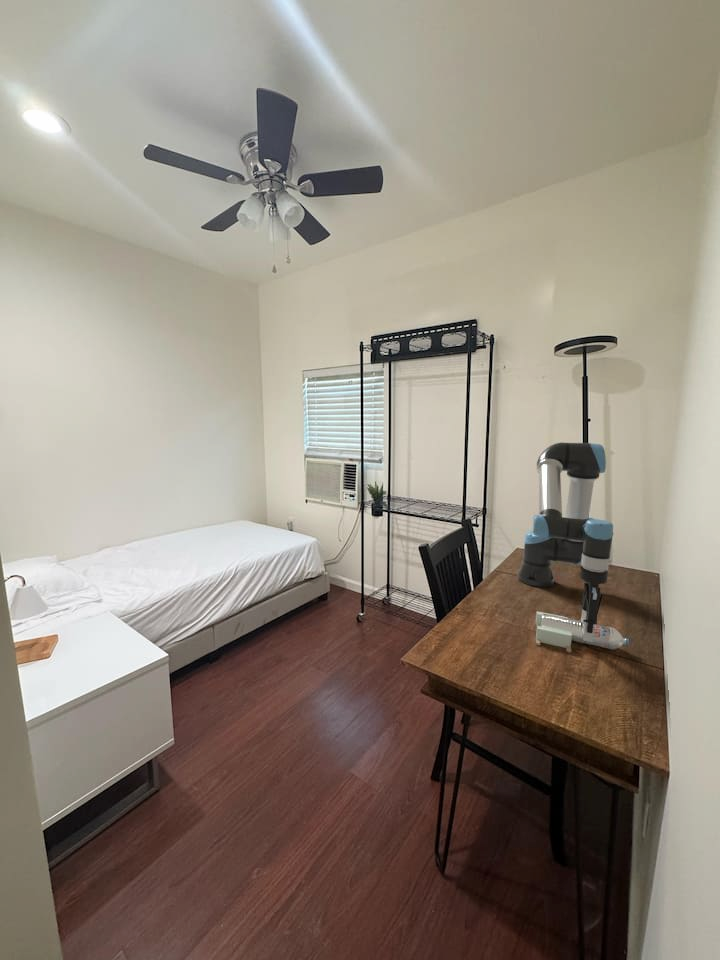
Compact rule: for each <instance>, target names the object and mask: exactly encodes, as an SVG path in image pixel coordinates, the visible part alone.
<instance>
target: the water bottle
mask: <svg viewBox="0 0 720 960" xmlns="http://www.w3.org/2000/svg"><path fill="white" fill-rule="evenodd" d="M549 614H550V613H548V614H542V617H541V627H546V628H551V629H555V630H560V631H565V632H570V633H571V635H572V638H571V642H576V643H581V644H586V645H591V646H596V647H600V648H605V649H607V650H613V651H614V650H616V649H618V648H620V647H622V645H623V644H624V645H625V646H626V645H627V646H629V644H630V639H629V638H626V637H623V635H622V634H621V633H620V632H619V631H618V630H617V629H616V628H614V627H612V626H604V625H600V624H596V625H595V629H594V637H593V642H589V641H584V640H583V633H584V625H585V622H582V621H581V620H576V619H573V618H569V617H568V618H563V617H564V616H563V617H558V616H559V615H558V616H554V615H555V614H553V615H549Z"/></svg>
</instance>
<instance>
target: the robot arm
mask: <svg viewBox="0 0 720 960" xmlns="http://www.w3.org/2000/svg"><path fill="white" fill-rule="evenodd" d="M606 464H607V459H606V450H605V448H604V446H603V444H600V443H592V442H556V443H554V444H551V445H550V446H548V447H546V448H545V449H544V450H543V451H542V452H541V453H540V455H539V456H538V459H537V461H536V471H537V473H538V476H539V477H538V480H539V481H538V483H539V484H538V489H539V490H538V493H539V494H538V495H539V496H538V514H535V515H534V516H533V520H532V530H529V531H527V532H526V533H525V536H524V537H525V538H524V540H523V543H524V544H523V545H524V547H523V557H522V563H521V565H520V567H519V570H518V571H517V579H518V580H519V581H520V582H521V583H524V584H526V585H529V586H532V587H538V588H539V587H541V588H545V587H546V588H547V587H551V586H553V585H554V584H555V583H554V582H555V579H554V578H555V577H554V575H553V574H554V573H553V571H552V562H557V563H563V564H564V563H565V564H570V565H580V570H579V577H580V579H581V580H583V581H584V584H583V587H584V588H583V594H582V600H581V601H582V602H581V605H582V607H581V609H582V610H581V618H580V621H582V622H585V625H584V633H583V640H584V641H589V642H593V637H594V629H595V625H598V613H599V612H598V611H599V603H600V598H601V595H600V593H601V587H600V584H601V585H603V584H606V583H607V581H608V576H609V572H608V570H609V564H612V560H610V557H611V550H612V542H613V536H614V524H613V523H612V522H611V521H607V520H604V519H597V518H593V517H589V516H590V510H591V504H592V503H591V502H592V497H593V492H594V491H593V490H594V485H595V482H594V481H596V480H597V479H599V478H600V474H603V473H605V472H606V467H607V465H606ZM563 472H566V476H567V477H568V478H569V479H570V481H569V487H568V496H567V504H566V510H565V517H563V505H562V503H563V502H562V481H561V480H562V479H561V473H563Z"/></svg>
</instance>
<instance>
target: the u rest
mask: <svg viewBox="0 0 720 960" xmlns="http://www.w3.org/2000/svg"><path fill="white" fill-rule="evenodd" d="M542 614H549V615H554V616H558V617H563V618H569V617H567V616H563V615H559V614H558V615H557V614H552V613H547V612H544V611H543V612H542V611H536V615H535V626H536V635H535V645H537V646H541V643H543V644H547V645H551V646H556V647H561V648H565V650H566V653H572V647H571V645H572V641H571V638H572V635H571V633H570V632H565V631H560V630H555V629H551V628H546V627H541V617H542Z"/></svg>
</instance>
